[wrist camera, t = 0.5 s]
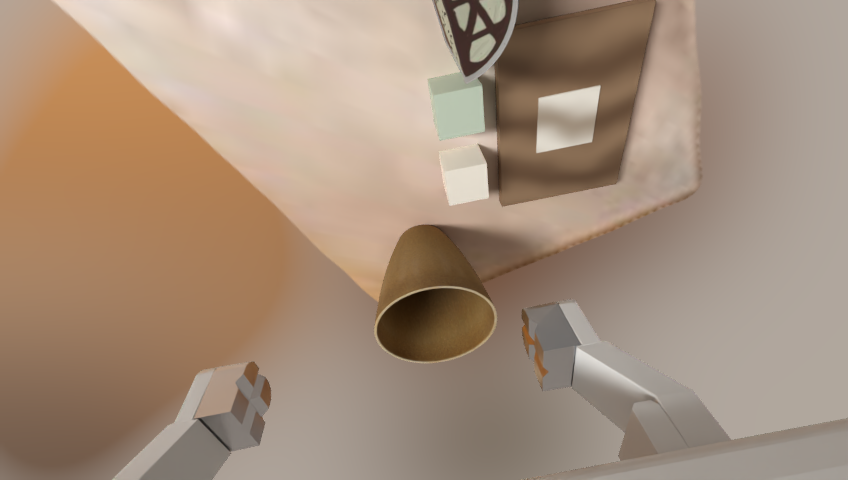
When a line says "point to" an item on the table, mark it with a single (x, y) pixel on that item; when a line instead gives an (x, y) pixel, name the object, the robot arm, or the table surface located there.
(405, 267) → the plant pot
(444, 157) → the cream block
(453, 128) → the sage green block
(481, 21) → the food container
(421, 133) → the table surface
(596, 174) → the board
